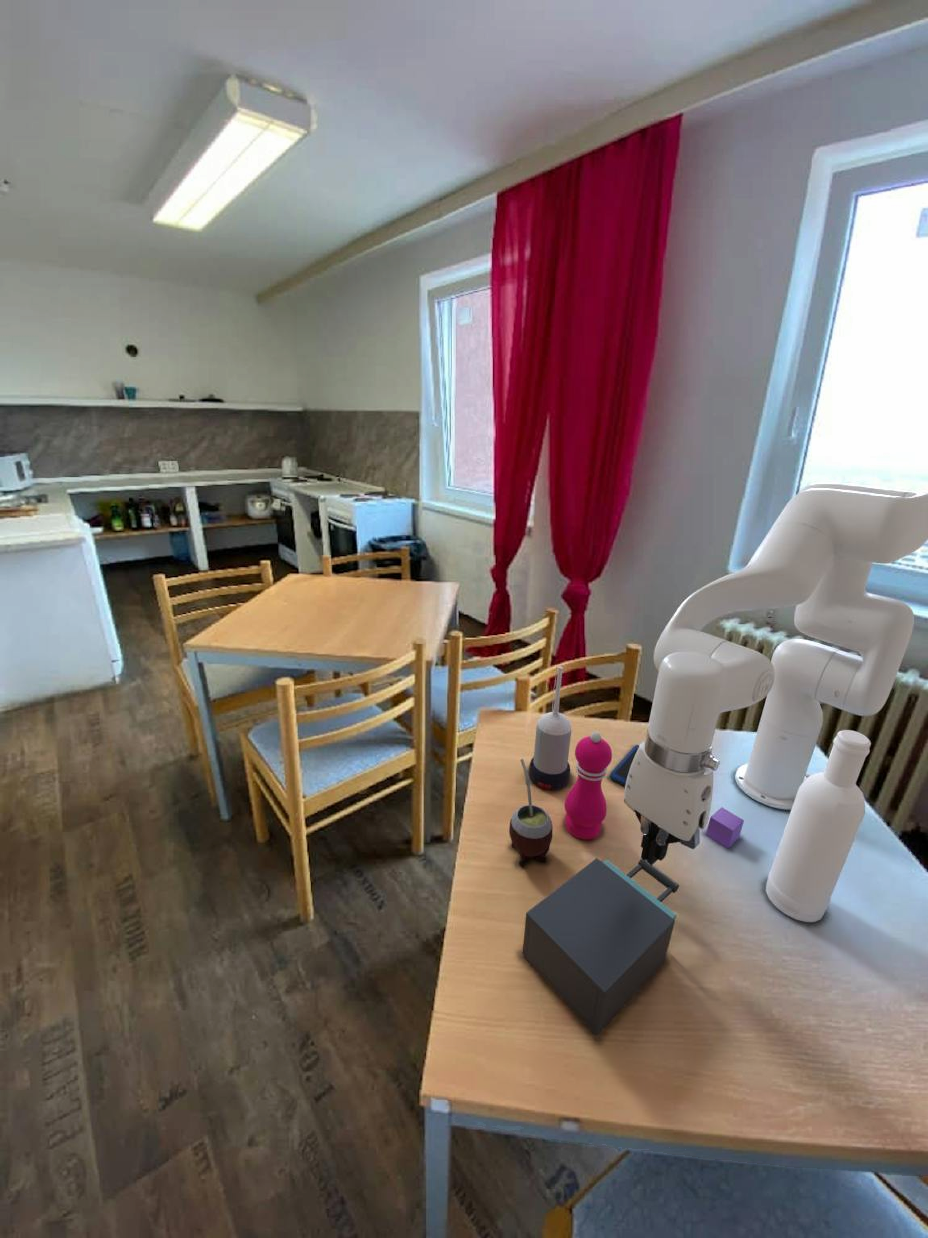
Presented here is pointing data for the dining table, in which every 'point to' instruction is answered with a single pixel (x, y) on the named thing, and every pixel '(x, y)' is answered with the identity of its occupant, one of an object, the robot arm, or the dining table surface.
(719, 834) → the block
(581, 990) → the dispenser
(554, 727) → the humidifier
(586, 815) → the pepper mill
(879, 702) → the robot arm
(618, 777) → the cell phone
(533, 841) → the mate gourd
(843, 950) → the dining table surface
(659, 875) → the drawer
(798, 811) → the bottle
